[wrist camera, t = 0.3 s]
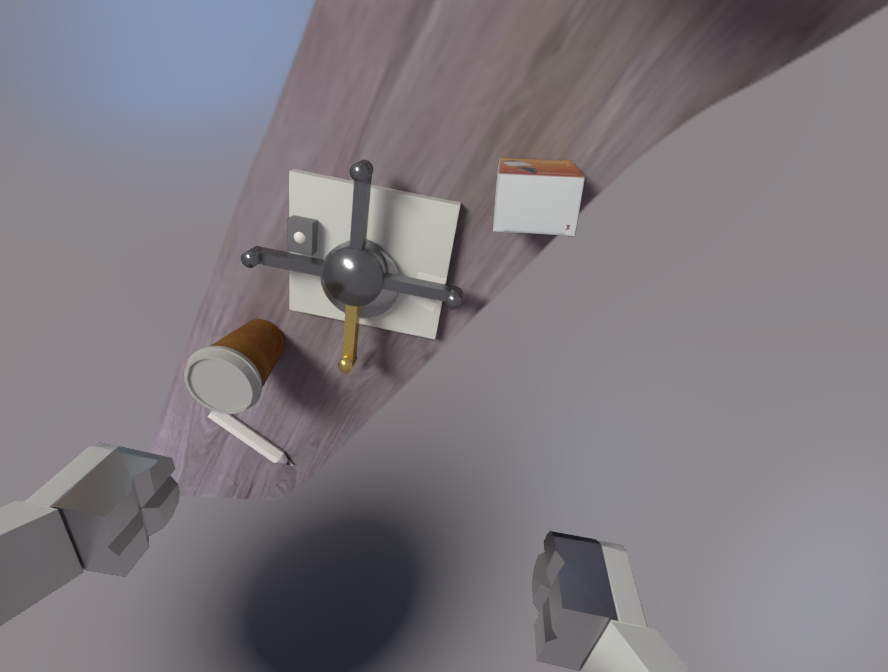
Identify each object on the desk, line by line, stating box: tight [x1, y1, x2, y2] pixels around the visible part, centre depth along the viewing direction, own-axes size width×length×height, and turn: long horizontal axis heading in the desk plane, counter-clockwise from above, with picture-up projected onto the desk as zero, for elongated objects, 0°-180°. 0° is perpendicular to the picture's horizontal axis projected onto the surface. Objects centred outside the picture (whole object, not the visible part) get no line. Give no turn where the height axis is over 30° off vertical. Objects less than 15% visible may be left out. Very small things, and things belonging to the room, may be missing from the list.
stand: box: [287, 169, 461, 339], centre depth 55 cm, size 18×20×4 cm
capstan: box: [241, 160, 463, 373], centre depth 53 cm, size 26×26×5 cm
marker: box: [207, 411, 293, 466], centre depth 74 cm, size 3×2×16 cm
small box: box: [493, 158, 585, 237], centre depth 46 cm, size 8×6×10 cm
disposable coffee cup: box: [184, 319, 285, 414], centre depth 60 cm, size 10×10×12 cm
